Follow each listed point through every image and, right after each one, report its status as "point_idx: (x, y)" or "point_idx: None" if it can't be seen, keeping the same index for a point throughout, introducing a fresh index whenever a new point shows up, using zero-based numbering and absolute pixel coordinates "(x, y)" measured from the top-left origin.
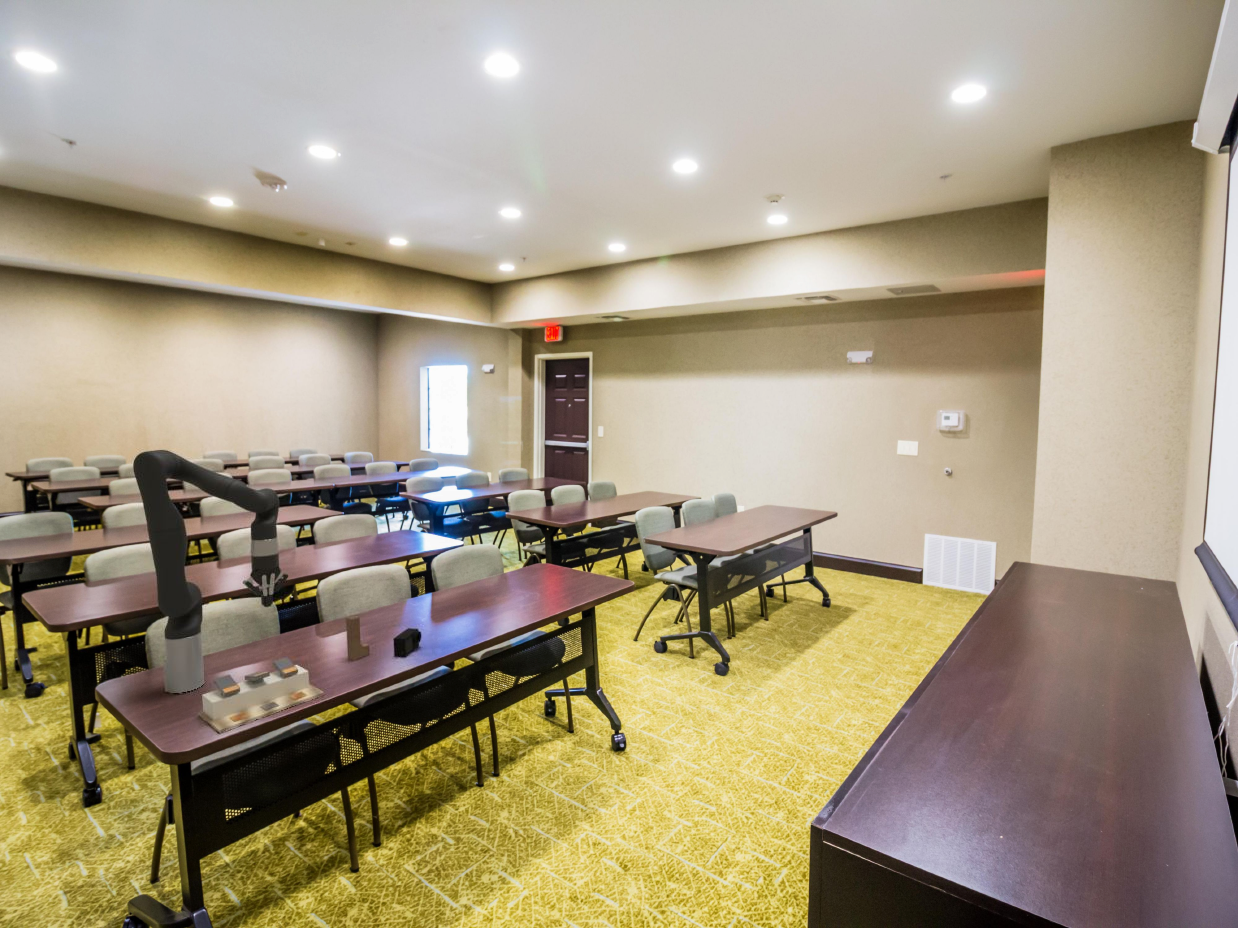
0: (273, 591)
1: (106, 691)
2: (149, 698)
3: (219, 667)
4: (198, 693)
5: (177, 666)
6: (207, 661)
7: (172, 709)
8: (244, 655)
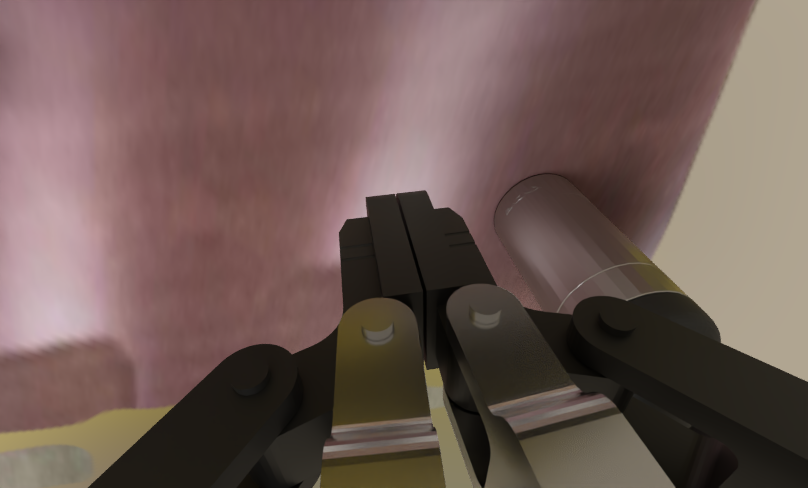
0: (325, 363)
1: None
2: (616, 202)
3: None
4: (537, 144)
5: (616, 227)
6: None
7: (636, 71)
8: None
